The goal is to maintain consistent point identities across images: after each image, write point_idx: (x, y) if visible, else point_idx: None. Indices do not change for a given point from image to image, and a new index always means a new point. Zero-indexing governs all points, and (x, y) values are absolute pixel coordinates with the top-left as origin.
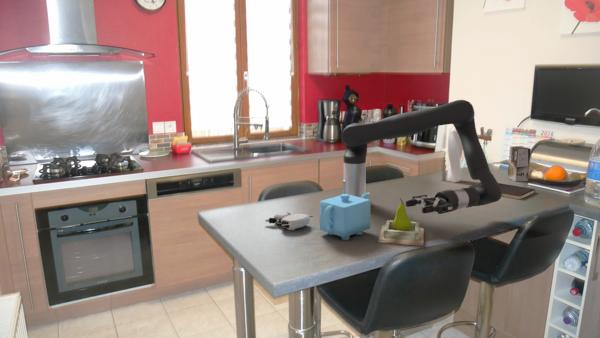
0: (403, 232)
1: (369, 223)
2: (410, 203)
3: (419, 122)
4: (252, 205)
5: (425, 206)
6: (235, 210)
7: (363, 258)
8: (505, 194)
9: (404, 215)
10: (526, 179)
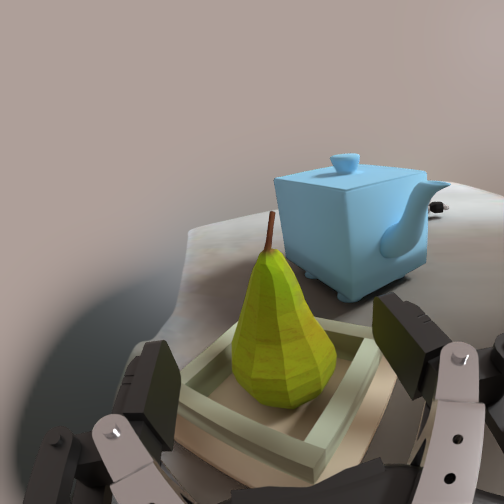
0: (207, 349)
1: (349, 283)
2: (389, 338)
3: None
4: (495, 196)
5: (151, 355)
6: (465, 190)
7: (186, 286)
8: None
9: (243, 314)
10: None
